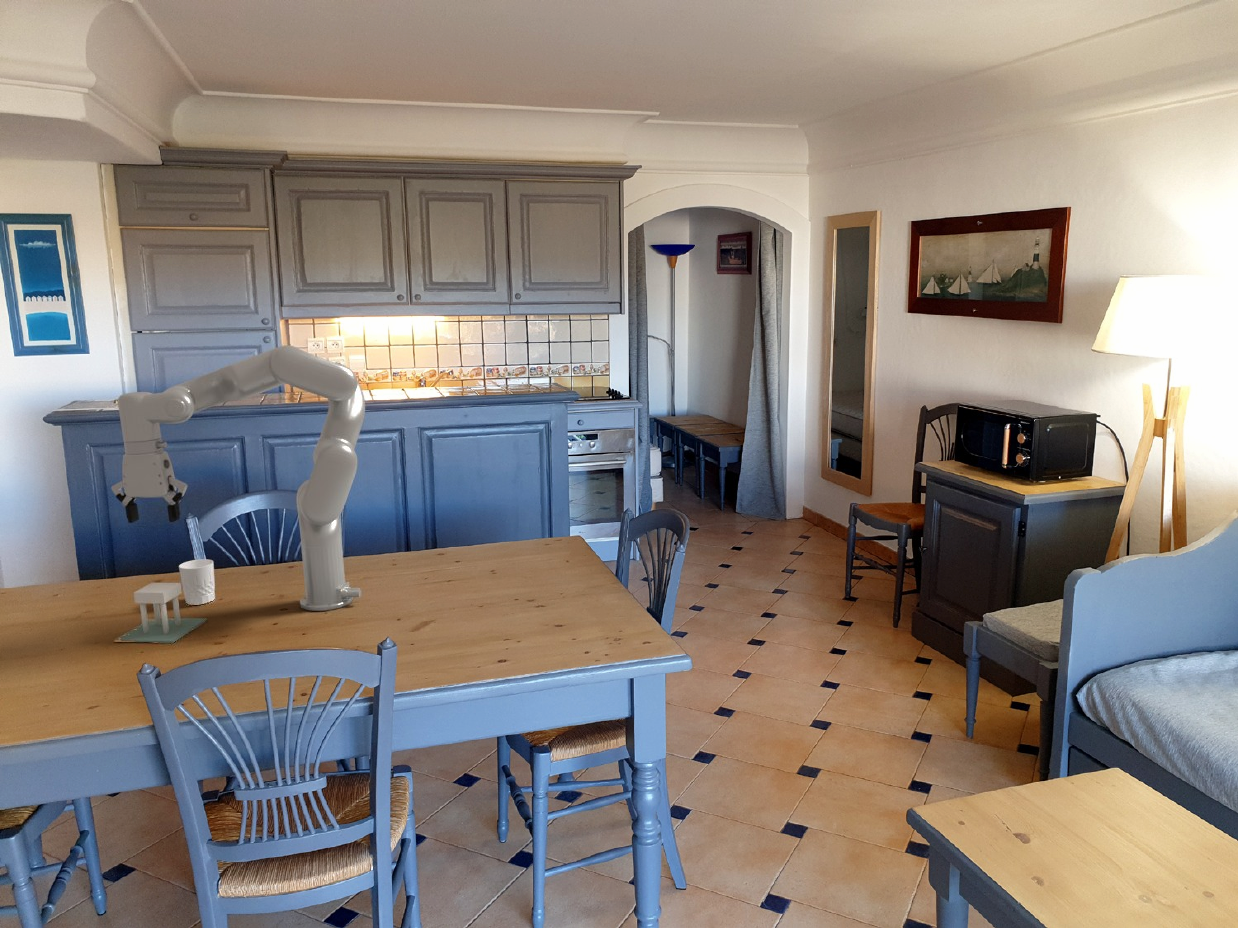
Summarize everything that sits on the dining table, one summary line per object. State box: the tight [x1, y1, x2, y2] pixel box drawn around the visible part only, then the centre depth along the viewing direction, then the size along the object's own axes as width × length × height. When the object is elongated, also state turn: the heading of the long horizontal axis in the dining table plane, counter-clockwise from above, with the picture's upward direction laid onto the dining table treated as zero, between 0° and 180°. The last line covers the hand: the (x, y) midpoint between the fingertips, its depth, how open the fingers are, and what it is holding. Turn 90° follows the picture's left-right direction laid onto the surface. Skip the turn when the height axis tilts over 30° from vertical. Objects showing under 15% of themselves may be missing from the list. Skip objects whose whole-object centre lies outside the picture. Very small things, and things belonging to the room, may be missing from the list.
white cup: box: [178, 558, 216, 605], centre depth 226 cm, size 8×8×10 cm
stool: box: [133, 582, 183, 634], centre depth 207 cm, size 7×7×10 cm
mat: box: [116, 617, 208, 644], centre depth 207 cm, size 14×14×1 cm
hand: (154, 521), depth 205 cm, fingers open, 9 cm apart
